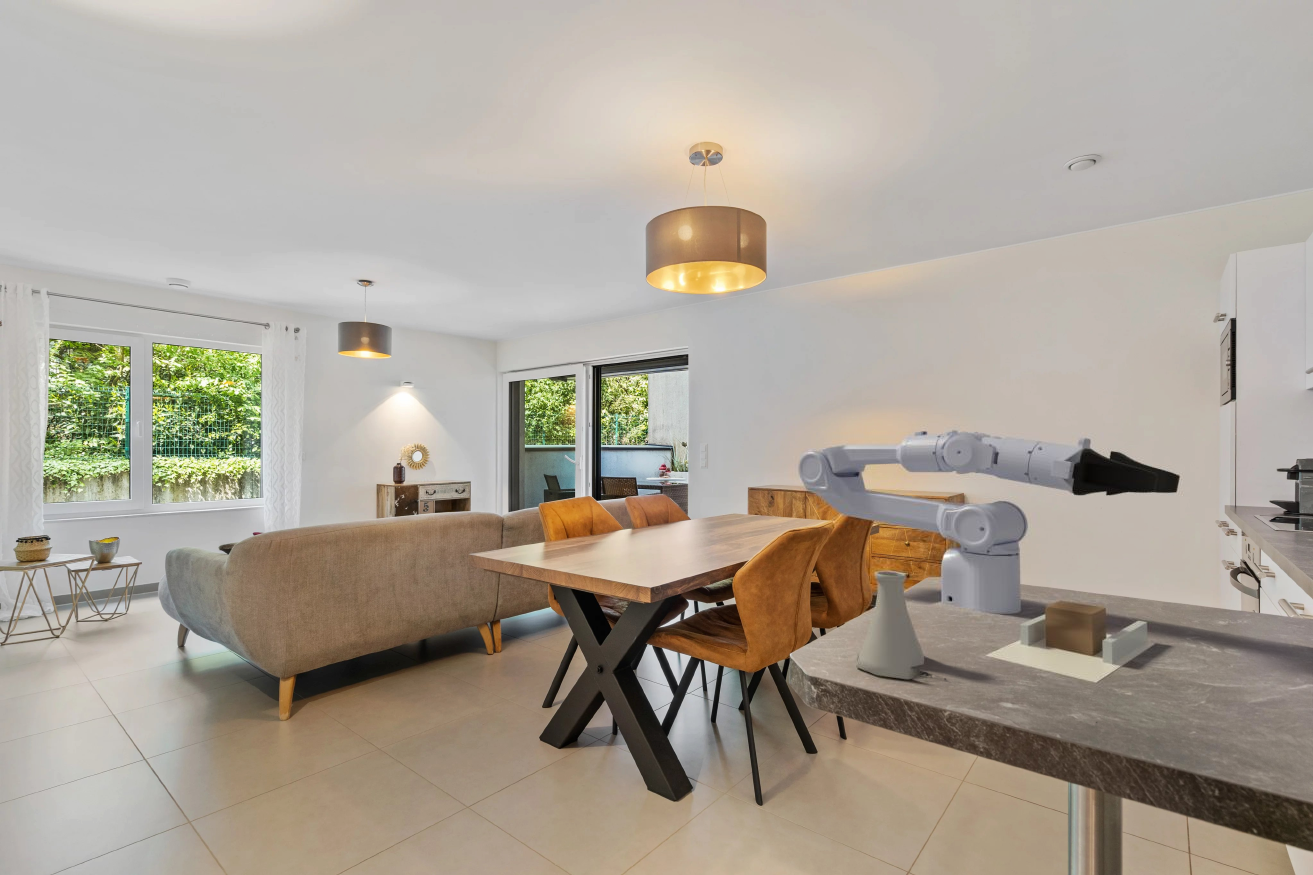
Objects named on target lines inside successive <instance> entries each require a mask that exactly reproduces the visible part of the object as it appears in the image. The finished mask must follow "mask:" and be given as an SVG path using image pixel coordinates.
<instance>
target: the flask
mask: <svg viewBox="0 0 1313 875" xmlns="http://www.w3.org/2000/svg"><path fill="white" fill-rule="evenodd" d="M874 572H875V573H874V579H875V580H876V581H877V595H876V599H875V600H876V601H875V607H874V612H873V614H872V619H871V621H870V625H869V627H868V631H867V634H866V636H865V639H864V642H863V643H862V644H863V645H862V648H861V651H860V654H859V656H858V659H857V662H856V665H855V667H856V668H857V669H858V668H859V669H861V670H863V671H865V672H869V673H871V674H872V675H874V676H879V677H886V678H887V677H888V678H896V679H901V680H902V679H903V680H912V679H914V678H918V677H923V676H925V675H928V672H927V671H925V670H921V669H917V668H915V667H918V666H923V665H924V664H925V655H924V654H925V653H924V652H923V649H922V647H921V644H920V642H919V640H918V637H917V633H916V631H915V628H914V625H913V623H912V620H911V617H910V614H909V610H908V606H907V603H906V598H905V596H906V595H905V584H904V582H905V581H906V578H907V573H905V572H901V571H895V570H894V571H893V570H879V571H874ZM913 667H914V668H913Z"/></svg>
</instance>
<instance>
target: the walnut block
mask: <svg viewBox="0 0 1313 875" xmlns="http://www.w3.org/2000/svg"><path fill="white" fill-rule="evenodd" d="M1044 607H1045V608H1044V609H1045V610H1044V614H1045V625H1046V647H1051V648H1055V649H1060V650H1065V651H1069V652H1074V653H1078V654H1083V655H1088V656H1092V657H1093V656H1094V655H1096V654H1098V653H1099V652H1101V651H1103V645H1102V641H1103V640H1104V639H1106V634H1107V612H1106V611H1107V609H1106V607H1103V606H1099V605H1098V606H1097V605H1091V604H1085V603H1079V602H1071V601H1066V600H1057V601H1055V602H1052V603H1050V604H1048V605H1045V606H1044Z"/></svg>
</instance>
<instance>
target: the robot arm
mask: <svg viewBox="0 0 1313 875" xmlns="http://www.w3.org/2000/svg"><path fill="white" fill-rule="evenodd" d="M1091 442H1092V441H1091V439H1090V438H1086V437H1079V439H1078V440H1077V445H1076V446H1075V445H1069V444H1060V443H1055V442H1054V443H1053V442H1045V441H1039V440H1033V439H1032V440H1030V439H1024V438H1023V439H1022V438H1018V437H1017V438H1016V437H1014V438H1013V437H1003V438H1002V437H1000V436H994V435H990V434H987V433H984V432H983V433H982V432H977V431H976V432H968V431H961V432H958V430H955V429H953V430H951V429H950V430H947V431H946V433H935V434H930V433H929V434H928V431H927V430H916V431H914V434H913V435H911V434H909V435H908V436H905V437H904V439H902V441H901V442H900V443H899V444H898V443H897V444H893V443H892V444H890V443H889V444H844V445H836V446H829V447H823V448H820V450H817V449H809V450H807V451H805V452H804V453H803V454H802V455H801V456H800V459H799V461H798V464H797V465H798V467H797V468H798V475H799V477H800V479H801V481H802V484H803V485H804V487H805V490H806V491H809V492H810V493H813V494H815V495H817V496H818V497H820V499H822V500H823V501H825V503H827V504H828V505H829V506H830V507H832V509H834V510H835V511H836V512H837V513H839V514H840V515H843V516H847V517H852V518H858V519H861V520H862V519H863V520H868V521H873V522H879V523H884V524H888V525H894V526H900V527H905V528H910V529H914V530H915V529H916V530H920V531H926V532H932V533H936V534H941V537H942V538H944V539H949V540H952V541H954V542H956V543H958V544H959V545H960V547H950V548H948V549H946V551H945V552H944V554H943V557H942V561H941V564H940V565H941V566H940V567H941V569H940V574H941V577H940V578H941V581H940V584H941V585H940V586H941V604H943V605H944V604H945V605H948V606H949V605H950V606H954V607H955V606H956V607H959V608H964V609H968V610H972V611H976V612H980V613H988V614H996V615H997V614H999V615H1009V614H1011V615H1012V614H1017V613H1020V612H1021V611H1022V608H1021V607H1022V606H1021V605H1022V596H1021V593H1022V592H1021V554H1020V551H1021V549H1020V545H1019V544H1020V542H1021V541H1022V540H1023V539H1024V538H1025V536H1026V534H1027V531H1028V525H1029V524H1028V518H1027V517H1026V514H1025V512H1024V511H1023V510H1022V508H1020V507H1019V506H1018V505H1017V504H1015V503H1012V502H1010V501H1006V500H998V501H995V502H989V503H966V502H965V503H964V502H951V501H945V500H937V499H930V498H926V497H925V498H924V497H917V496H910V495H904V494H903V495H902V494H896V493H890V492H882V491H876V490H869V489H868V490H867V489H866V486H865V482H864V479H863V478H864V477H863V472H864V471H865V469H866V466H868V465H869V466H870V465H896V464H897V465H899V464H900V465H901V466H902V467H903V468H904V469H905V470H906V471H908V472H910V473H953V472H955V473H956V474H958V475H965V474H971V473H975V474H983V475H989V476H994V477H996V478H999V479H1002V480H1008V481H1012V482H1013V481H1014V482H1019V483H1024V484H1030V485H1036V486H1040V487H1046V488H1049V489H1050V488H1051V489H1056V490H1061V491H1067V492H1069V493H1070V494H1073V495H1074V496H1086V495H1091V494H1096V493H1105V496H1114V495H1115V496H1116V495H1121V494H1126V493H1135V494H1136V493H1137V494H1138V493H1139V494H1148V493H1150V494H1151V493H1156V494H1157V493H1158V494H1170V493H1171V494H1174V493H1177V492H1178V487H1179V482H1180V477H1181V476H1180V475H1179V474H1177V473H1174V472H1173V471H1172V472H1171V471H1169V470H1165V469H1161V468H1158V467H1154V466H1150V465H1147V464H1146V463H1145V464H1144V463H1141V462H1139V461H1137V460H1134V459H1133V458H1130V457H1129V456H1127V455H1125V453H1122V452H1120V451H1113V450H1112V451H1110V454H1109V458H1108V457H1107V456H1105V455H1102V454H1100V453H1099V452H1097V451H1095V449H1092V448H1091V444H1092V443H1091Z"/></svg>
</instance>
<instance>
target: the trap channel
mask: <svg viewBox="0 0 1313 875" xmlns="http://www.w3.org/2000/svg"><path fill="white" fill-rule="evenodd" d="M1019 627H1020V628H1019V631H1020V632H1019V633H1020V634H1019V635H1020V636H1019V637H1020V639H1019V640H1017V641H1015V642H1012V643H1010V644H1007V645H1006V646H1003V647H1000V648H998V649H997V650H994V651H992V652H989V653H988V654H985V657H989V658H993V659H997V660H1001V661H1004V662H1009V663H1012V664H1013V663H1014V664H1016V665H1021V666H1026V667H1029V668H1034V669H1038V670H1042V671H1046V672H1049V673H1054V674H1058V675H1061V676H1062V675H1063V676H1067V677H1070V678H1074V679H1075V678H1076V679H1080V680H1083V681H1088V682H1091V683H1095V684H1096V683H1099V682H1100V681H1102V680H1103V679H1105V678H1106V677H1108V676H1109V675H1111V674H1112V673H1113V672H1115V671H1116V670H1119V668H1122V667H1123V666H1125V665H1126V664H1127V663H1129V662H1130V661H1131V660H1133V659H1134V658H1137V657H1138V656H1139V655H1140V654H1142V653H1143V652H1145V651H1147V650H1148V649H1150V648H1151V647H1152V646H1154V645H1156V643H1154V642H1150V641H1148V622H1147V621H1143V620H1137V621H1135V622H1133V623H1132V624H1130V625H1128V626H1127V627H1124V628H1122V629H1121V630H1119V631H1117V632H1115V633H1113V634H1107V633H1106V639H1104V640H1103V641H1102V645H1103V651H1101V652H1099V653H1098V654H1096V655H1094V656H1093V657H1092V656H1088V655H1083V654H1078V653H1074V652H1069V651H1065V650H1060V649H1055V648H1051V647H1046V625H1045V613H1044V614H1042V615H1040V616H1037V617H1034V618H1032V619H1030V620H1027V621H1025V622H1023V623H1020V624H1019Z"/></svg>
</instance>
